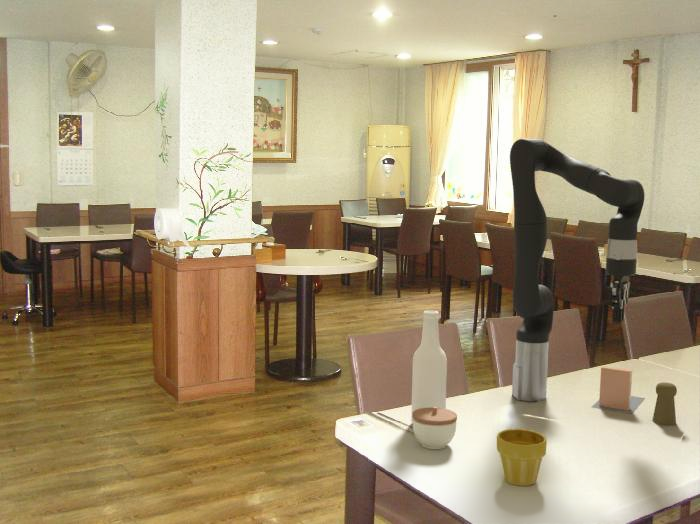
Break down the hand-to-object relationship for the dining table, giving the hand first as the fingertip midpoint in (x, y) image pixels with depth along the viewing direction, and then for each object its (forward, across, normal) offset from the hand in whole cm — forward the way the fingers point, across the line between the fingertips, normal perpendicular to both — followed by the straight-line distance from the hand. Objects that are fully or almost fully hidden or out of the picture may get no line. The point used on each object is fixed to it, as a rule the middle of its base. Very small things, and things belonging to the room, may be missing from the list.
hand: (617, 321), depth 205 cm
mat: (+27, -17, -2) cm, 32 cm away
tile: (+27, -12, -2) cm, 29 cm away
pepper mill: (+27, -6, +12) cm, 30 cm away
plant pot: (+27, +53, -7) cm, 60 cm away
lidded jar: (+27, +43, -32) cm, 60 cm away
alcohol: (+27, +30, -40) cm, 57 cm away
